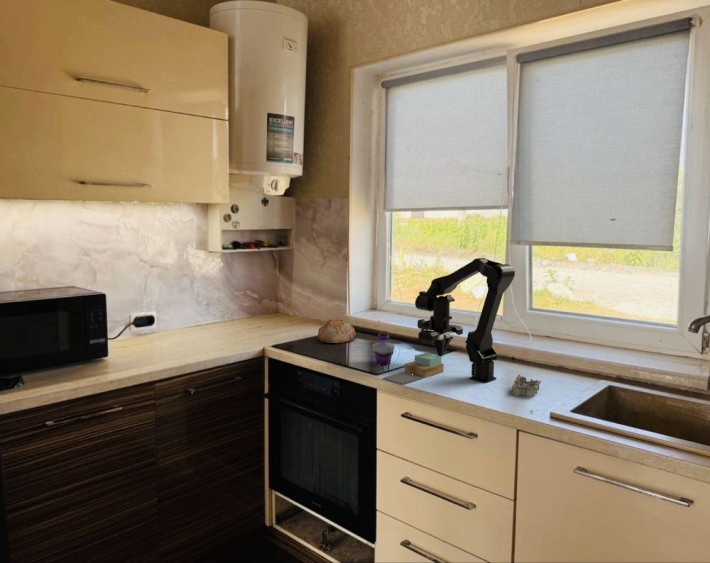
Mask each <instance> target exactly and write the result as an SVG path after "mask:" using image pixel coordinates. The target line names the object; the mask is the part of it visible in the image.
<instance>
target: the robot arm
mask: <svg viewBox="0 0 710 563" xmlns="http://www.w3.org/2000/svg"><path fill="white" fill-rule="evenodd" d="M478 273H479V274H481V275H482V276H483V277H486V284H487V292H486V296H485V299H484V302H483V305H482V309H481V313H480V316H479V318H478V319H479V320H478V323H477V327H476V329H475V330H472V331H468V333H467V337H466V340H465V341H464V343H465V344H466V345H465V350H466V352H467V356H468V358H469V362H470V363H471V371H470V372H471V376H469V379H470V380H474V381H478V382H481V383H485V384H486V383H488V382H491V381H495V380H496V379H497V377H495V375H494V373H495V362H494V361H498V358H499V353H498V352H497V349H495V348H494V346H493V341H494V338H493V335H492V331H493V327H494V325H495V321H496V318H497V315H498V311H499V308H500V305H501V301H502V299H503V295H504V293H505V292H506V291H507V289H508V288H509V287H510V285H511V284H512V282H513V280H514V279H515V275H516V270H514V267H513V266H512V265H511V264H509V263H501V262H497V261H493V260H491V259H488V258H485V257H478V258H477V257H476V258H474V259H473V260H472V261H470V262H469V263H468V262H467V264H465V265H464V266H462V267H460V268H458V269H457V270H455V271H453V272H451V273H450V274H447V275H443V276H440V277H436V278H434V279H432V280H431V281H430V286H429V287H428V289H427V290H426V291H425V290H424V291H419V293H418V295H417V297H416V298H415V300H414V304H415V308H416V309H417V310H421V311H426V312H433V313H432V315H430V316H429V319H428V320H425V319H424V318H421V319H418V320H417V324H416V325H417V329H419V330H420V331H419V332H418V333H417V339H418V340H421V341H426V342H431V343H432V342H433V343H434V344H433V345H434V346H435V349H436V353H437V356H441V358H442V357H443V356H444V354H445V352H446V350H447V349H448V347H449V345H450V343H451V341H452V340H453V339H454V336H451V334H453V333H455V334H456V335H457V336H460V335H464V334H463V333H464V328H463V326H462V325H457V324H450V320H453V316H452V315H451V314H450V308H451V307H450V305H451V303H453V302H455V301H456V300H455V298H454V297H452V295H451V293H452V292H453V291H454V290H456V289H457V287H458V285H460V284H461V283H463V282H465V281H466V280H468V279H470V278H471V277H473V276H475V275H477V274H478Z"/></svg>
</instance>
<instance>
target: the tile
mask: <svg viewBox="0 0 710 563" xmlns="http://www.w3.org/2000/svg"><path fill="white" fill-rule="evenodd" d="M414 361H415V363H419V364H423V365H427V366H433V365H437V364H440V363H442V357H441V356H439V355H438V354H433V353H428V352H423V353H421V354H420V353H419V354H415V355H414Z"/></svg>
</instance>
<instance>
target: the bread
mask: <svg viewBox="0 0 710 563" xmlns="http://www.w3.org/2000/svg"><path fill="white" fill-rule="evenodd" d="M356 334H357V333H356V331H355V328H354V327H353V325H352V324H351V323H349V322H347V321H345V320H344V319H328V320H327V322H325V323H323V324H322V325H321V326H320V327H319V328H318V332H317V339H318V340H320V342H321V341H322V342H321V343H323V342H326V343H325V344H327V343H336V344H335V345H338V344H337V343H340V344H345V342H346V343H352V342H351V341H353V342H354V340H355V339H356V337H357V335H356Z"/></svg>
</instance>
